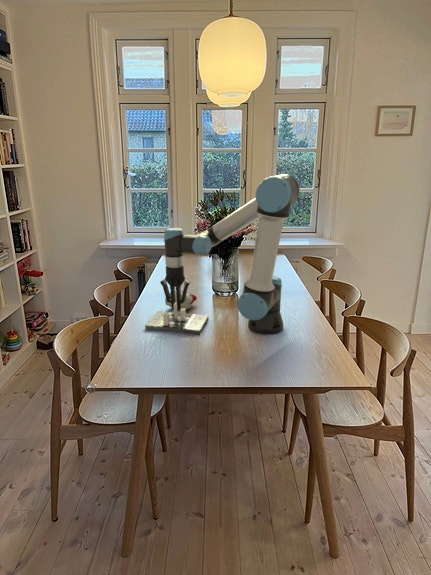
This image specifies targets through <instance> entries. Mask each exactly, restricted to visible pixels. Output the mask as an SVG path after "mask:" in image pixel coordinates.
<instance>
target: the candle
mask: <svg viewBox="0 0 431 575" xmlns="http://www.w3.org/2000/svg"><path fill="white" fill-rule="evenodd" d="M169 293H170V296H171V292H169ZM182 294H183V291H181V299H182ZM197 299H198V298H197V296H196V295H194V294H191V293H189V292H188V291H187V294H186V298H185V301H184V303H181V308H184V309H185V310H188V311H189V310H190V309H191V307H192V306H193V304H194V302H195V301H197ZM164 300H165V301H164V302H165V304H164V305H166V306H168V307H170V309H172V305H171V303H170V302H167V299H166V298H165V299H164ZM175 302H177V295H176V290H175Z"/></svg>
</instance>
